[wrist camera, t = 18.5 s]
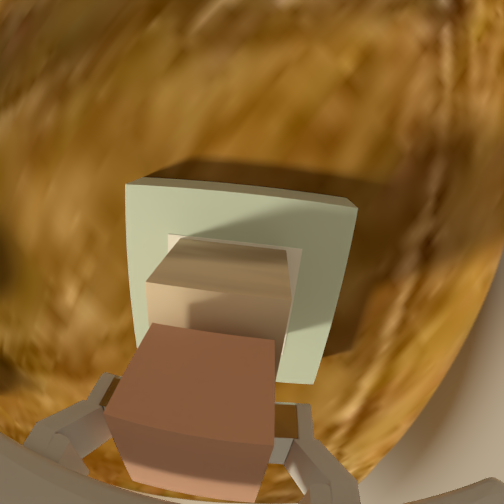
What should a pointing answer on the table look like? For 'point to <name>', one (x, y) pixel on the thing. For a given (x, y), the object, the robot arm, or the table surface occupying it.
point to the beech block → (222, 290)
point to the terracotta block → (196, 412)
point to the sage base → (248, 234)
